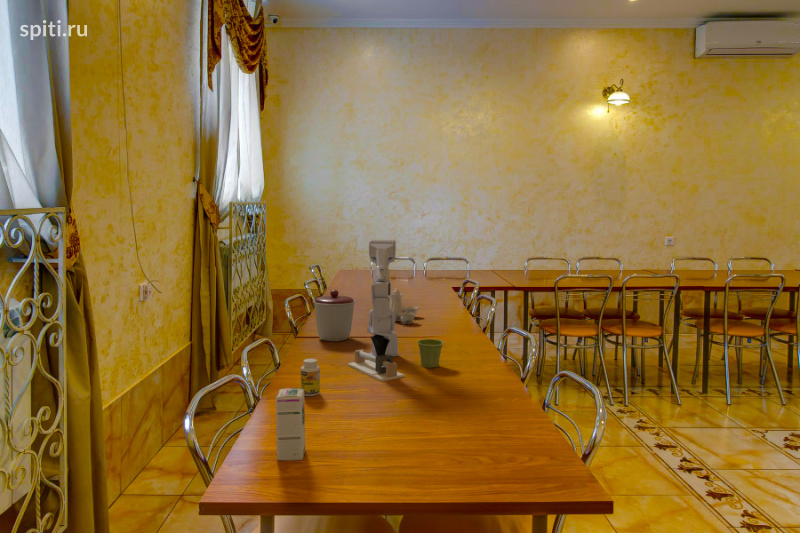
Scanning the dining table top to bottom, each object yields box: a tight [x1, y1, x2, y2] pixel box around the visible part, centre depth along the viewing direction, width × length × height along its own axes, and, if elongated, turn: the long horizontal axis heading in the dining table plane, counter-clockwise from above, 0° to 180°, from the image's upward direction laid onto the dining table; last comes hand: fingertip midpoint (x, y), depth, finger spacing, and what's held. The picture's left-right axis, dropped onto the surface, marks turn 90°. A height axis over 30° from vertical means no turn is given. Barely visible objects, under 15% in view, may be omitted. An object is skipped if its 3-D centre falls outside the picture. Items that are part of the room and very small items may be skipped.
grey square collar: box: [376, 354, 394, 373], centre depth 187 cm, size 2×5×5 cm, turn 125°
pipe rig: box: [347, 348, 405, 382], centre depth 192 cm, size 22×9×5 cm, turn 35°
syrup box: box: [275, 387, 306, 461], centre depth 125 cm, size 6×6×14 cm
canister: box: [312, 289, 357, 342], centre depth 238 cm, size 18×18×21 cm
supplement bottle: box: [300, 358, 321, 397], centre depth 167 cm, size 6×6×10 cm
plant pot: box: [417, 338, 445, 369], centre depth 199 cm, size 9×9×9 cm
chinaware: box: [390, 288, 420, 325], centre depth 281 cm, size 28×17×17 cm, turn 178°
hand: (380, 357), depth 188 cm, fingers closed
